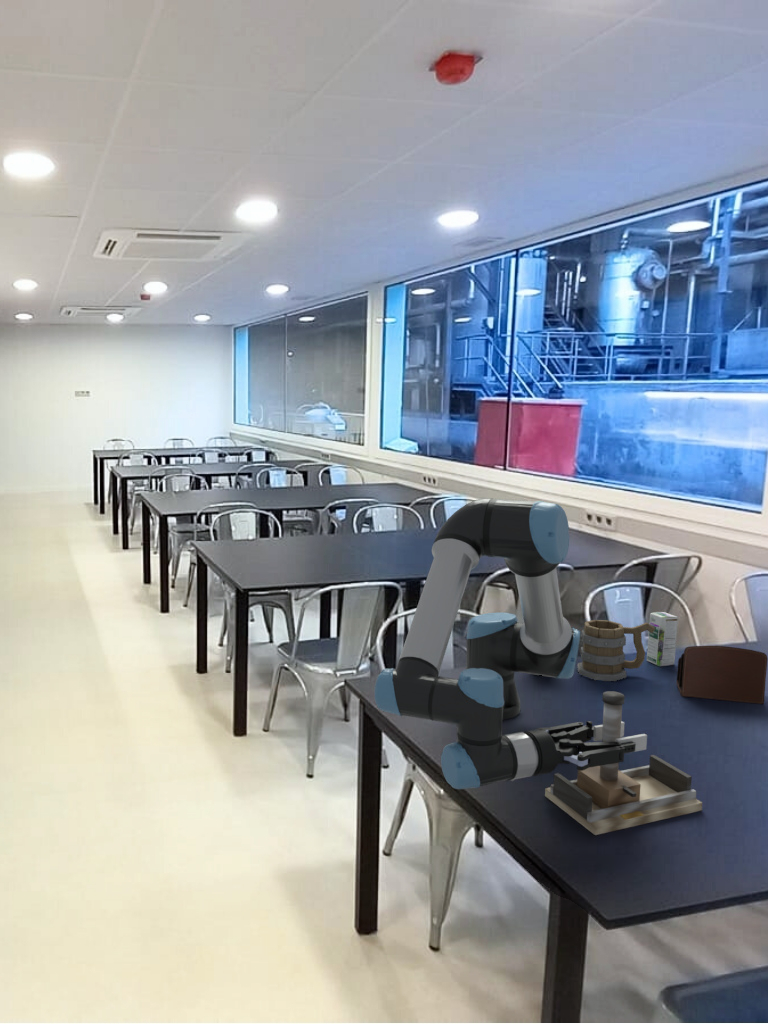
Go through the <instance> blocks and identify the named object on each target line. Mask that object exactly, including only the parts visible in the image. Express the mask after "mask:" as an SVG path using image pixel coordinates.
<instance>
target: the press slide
mask: <svg viewBox="0 0 768 1024" xmlns="http://www.w3.org/2000/svg"><path fill="white" fill-rule="evenodd" d="M625 697H626V696H625V695H624V694H623V693H622V692H618V691H614V690H613V691H610V690H607V691H604V692H602V702H603V714H602V725H603V728H602V740H601V742H615V739H617V738H621V737H620V734H621V721H622V715H623V705H624V704H625ZM619 763H620V762H619ZM619 763H613V764H607V765H601V766H595V767H590V768H587V769H585V770H583V771H580V770H577V778H576V780H577V787H579V788H580V789H581V790H583V791H584V792H586V793H587V794H588V795H590V796H591V797H593V798H592V801H593V802H595V803H596V804H597V805H599V806H600V807H602V808H603V809H605V808H609V807H614V806H618V805H623V804H628V803H632V802H637V801H639V800H640V785H641V784H639V783H638V782H636V781H635V780H633V779H632V778H630V777H629V776H627V775H625V774H624V773H622V772H621V771H622V770H620V769H619V766H620V765H619Z"/></svg>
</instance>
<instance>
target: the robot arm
mask: <svg viewBox="0 0 768 1024" xmlns="http://www.w3.org/2000/svg"><path fill="white" fill-rule="evenodd" d="M569 525H570V524H569V521H568V516H567V514H566V512H565V510H564V508H563V507H562V506H561V505H559V504H557V503H553V502H547V501H542V500H537V501H535V500H534V501H533V500H517V499H515V500H514V499H498V498H497V499H496V498H480V499H476V500H473V501H471V502H468V503H466V504H465V505H463V506H461V507H460V508H459V509H457V510H456V511H455V512H453V514H451V515H450V517H448V519H447V520H446V521H444V523H443V524H442V525H441V527H440V529H439V531H438V532H437V533H436V536H435V538H434V541H433V544H432V547H431V554H432V557H433V560H432V562H431V565H430V569H429V571H428V574H427V576H426V580H425V583H424V586H423V589H422V592H421V595H420V597H419V600H418V604H417V606H416V609H415V612H414V615H413V618H412V621H411V624H410V627H409V630H408V632H407V635H406V637H405V638H406V639H405V642H404V645H403V646H402V649H401V653H400V655H399V658H398V662H397V665H396V667H395V668H393V667H391V668H383V669H382V670H381V672H380V673H379V674H378V676H377V678H376V681H375V684H374V701H375V704H376V706H377V708H378V709H379V710H380V711H383V712H386V713H389V714H393V715H397V716H399V717H403V716H404V717H410V718H417V719H423V720H429V721H434V722H439V723H444V724H449V725H454V726H456V741H453V742H451V743H448V744H446V745H445V746H444V747H443V749H442V753H441V754H440V755H441V756H440V763H441V764H440V765H441V770H442V774H443V777H444V778H445V781H446V782H447V783H448V784H449V786H451V787H452V788H453V789H455V790H466V789H472V788H475V789H477V788H480V787H484V786H488V785H492V784H497V783H502V782H509V781H511V782H514V781H515V780H518V779H524V778H529V777H533V776H534V777H536V776H542V775H547V774H551V773H552V772H553V771H554V770H555V769H556V768H557V766H558V765H561V764H562V765H564V764H565V765H569V764H571V763H572V764H574V765H576V769H577V771H578V770H580V771H583V770H585V769H587V768H590V767H595V766H601V765H607V764H613V763H623V762H624V761H625V754H629V753H635V752H639V751H645V750H647V745H648V735H647V734H645V733H641V734H635V735H629V736H624V735H625V721H622V720H621V734H620V738H617V739H615V742H602V728H603V724H598V725H593V721H589V720H586V722H585V725H584V722H582V721H578V722H577V721H576V722H572V723H566V724H561V725H556V726H550V727H537V728H536V729H534V730H525V731H519V732H514V733H508V734H502V733H503V720H509V719H512V718H515V717H517V716H518V715H519V714H520V712H521V699H520V695H519V693H518V689H517V685H516V682H515V673H523V674H529V675H535V676H539V675H542V676H541V677H549V678H554V679H566V680H568V679H571V678H572V677H573V676H574V673H575V670H576V666H577V665H576V664H577V659H578V654H579V647H580V641H581V631H580V630H579V629H577V628H575V627H571V624H570V623H569V621H568V620H567V618H566V617H564V616H563V608H562V607H563V606H562V601H561V594H560V586H559V578H558V571H557V568H558V567H559V565H560V564H561V563H563V562H564V561H565V560H566V558H567V556H568V552H569V547H570V533H569V530H570V526H569ZM482 557H488V558H489V557H490V558H498V559H499V558H500V559H504V562H505V566H506V567H507V569H508V570H509V571H510V572H511V573H512V574H514V577H515V581H516V587H517V591H518V597H519V602H520V607H521V614H522V617H523V622H519V621H518V620H519V619H518V617H517V615H516V614H514V613H510V612H500V611H499V612H489V613H487V612H486V613H483V614H479V615H476V616H473V617H472V618H471V619H470V620H469V621H468V622H467V623H468V624H467V633H466V637H465V638H466V654H465V655H466V656H465V669H464V670H462V671H460V673H459V676H458V679H457V678H452V677H451V678H450V677H445V676H441V675H440V676H439V674H440V670H441V667H442V664H443V662H444V658H445V655H446V651H447V648H448V645H449V642H450V639H451V635H452V631H453V629H454V625H455V622H456V619H457V616H458V612H459V609H460V606H461V602H462V600H463V597H464V593H465V590H466V586H467V583H468V580H469V577H470V574H471V570H473V569H475V568H476V567H477V566H478V564H479V562H480V559H481V558H482ZM591 740H592V742H590V741H591ZM588 741H589V742H588ZM593 741H594V742H593Z"/></svg>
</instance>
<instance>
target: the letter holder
mask: <svg viewBox="0 0 768 1024" xmlns="http://www.w3.org/2000/svg"><path fill="white" fill-rule="evenodd" d="M767 669H768V655H767V654H766V653H765V652H761V651H760V650H759V651H758V650H754V649H749V648H741V647H734V646H727V645H726V646H725V645H692V646H687V647H685V648H684V650H683V653H682V654H681V656H680V657H679V658H678V661H677V670H676V671H677V673H676V681H675V682H676V683H675V684H676V686H677V688H678V691H679V693H680V696H681V697H682V698H684V697H685V698H686V697H687V698H694V699H695V698H696V699H708V700H717V701H727V702H734V703H735V702H736V703H747V704H748V703H749V704H755V703H756V704H757V705H759V704H760V705H764V704H765V694H766V682H767V680H766V679H767Z"/></svg>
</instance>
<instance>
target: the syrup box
mask: <svg viewBox="0 0 768 1024" xmlns="http://www.w3.org/2000/svg"><path fill="white" fill-rule="evenodd" d="M678 621H679V616H676V615H673V614H670V613H667V612H666V611H664V612H663V611H655V612H651V613H650V614H649V624H650V625H652V626H653V627H655V630H654V631H653V633H651V632H649V631H648V639H647V654H646V662H649V663H650V664H651V663H652V664H654V665H655V666H658V667H666V666H674V665H675V661H676V660H675V659H676V647H677V636H678V635H677V634H678V623H679V622H678Z"/></svg>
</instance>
